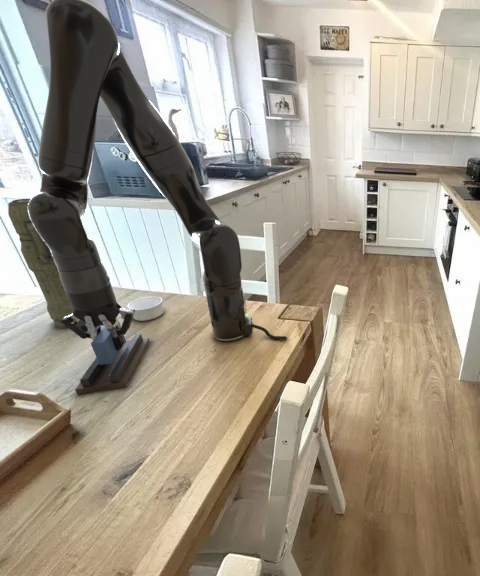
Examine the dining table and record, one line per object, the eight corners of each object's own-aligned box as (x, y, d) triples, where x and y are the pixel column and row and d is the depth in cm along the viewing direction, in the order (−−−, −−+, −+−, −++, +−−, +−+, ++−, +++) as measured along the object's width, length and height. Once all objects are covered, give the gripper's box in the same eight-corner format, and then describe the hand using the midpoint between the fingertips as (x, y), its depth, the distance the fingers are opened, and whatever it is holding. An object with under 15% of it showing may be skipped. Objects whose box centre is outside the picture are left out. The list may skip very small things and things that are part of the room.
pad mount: (150, 342, 89) (146, 331, 87) (126, 387, 73) (121, 375, 72) (110, 346, 86) (106, 335, 84) (77, 394, 71) (71, 382, 69)
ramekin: (123, 319, 98) (119, 307, 96) (148, 305, 105) (145, 294, 104) (148, 324, 96) (144, 311, 94) (172, 310, 104) (169, 298, 102)
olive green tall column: (91, 307, 102) (48, 194, 87) (97, 323, 95) (51, 203, 80) (52, 316, 97) (-1, 197, 81) (56, 334, 89) (-2, 206, 74)
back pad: (126, 341, 82) (119, 321, 80) (112, 363, 75) (103, 342, 72) (114, 342, 81) (107, 322, 79) (99, 365, 74) (90, 343, 71)
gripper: (36, 295, 65) (68, 363, 72) (119, 289, 69) (141, 354, 77) (56, 279, 71) (84, 344, 79) (131, 275, 75) (150, 336, 83)
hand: (112, 348), depth 78 cm, fingers closed on back pad, 2 cm apart
